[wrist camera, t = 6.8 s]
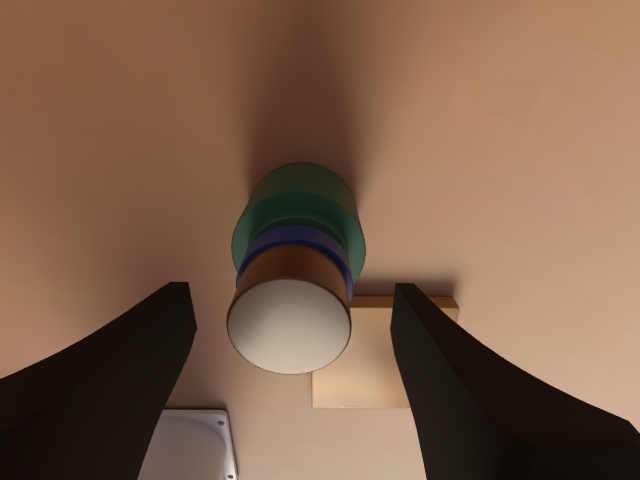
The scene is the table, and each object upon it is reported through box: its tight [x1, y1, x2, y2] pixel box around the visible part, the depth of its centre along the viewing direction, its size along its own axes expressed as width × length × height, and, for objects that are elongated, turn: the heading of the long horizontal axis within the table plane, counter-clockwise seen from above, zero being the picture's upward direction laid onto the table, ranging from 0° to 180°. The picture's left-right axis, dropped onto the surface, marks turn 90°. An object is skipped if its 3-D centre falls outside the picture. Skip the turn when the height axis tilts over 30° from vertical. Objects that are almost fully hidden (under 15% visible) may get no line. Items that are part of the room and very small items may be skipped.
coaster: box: [312, 296, 459, 408], centre depth 24 cm, size 9×9×1 cm
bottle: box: [231, 163, 366, 304], centre depth 16 cm, size 6×6×7 cm
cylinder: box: [226, 244, 352, 375], centre depth 12 cm, size 4×4×2 cm
